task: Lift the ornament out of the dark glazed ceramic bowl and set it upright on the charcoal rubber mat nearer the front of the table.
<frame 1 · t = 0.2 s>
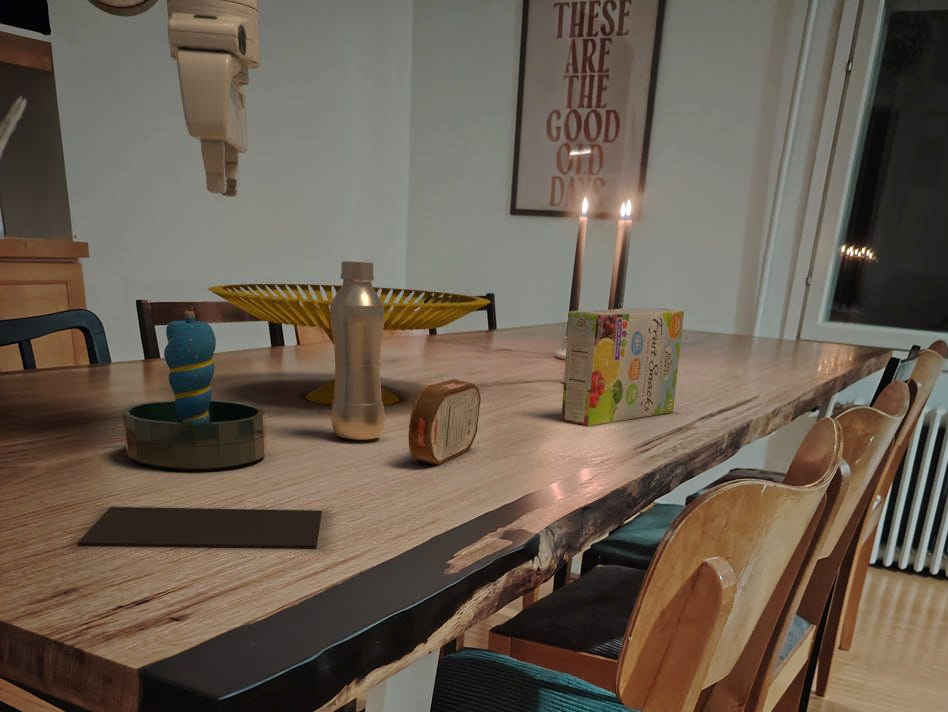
hand: (223, 194, 99), 26 cm above the table, tool pointing down, fingers open, 8 cm apart
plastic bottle: (358, 441, 112), on the table
tin: (445, 459, 106), on the table
bowl: (198, 458, 99), on the table
mat: (209, 529, 76), on the table
snack box: (618, 418, 137), on the table
ornament: (197, 454, 99), resting on bowl
cake stand: (352, 400, 140), on the table
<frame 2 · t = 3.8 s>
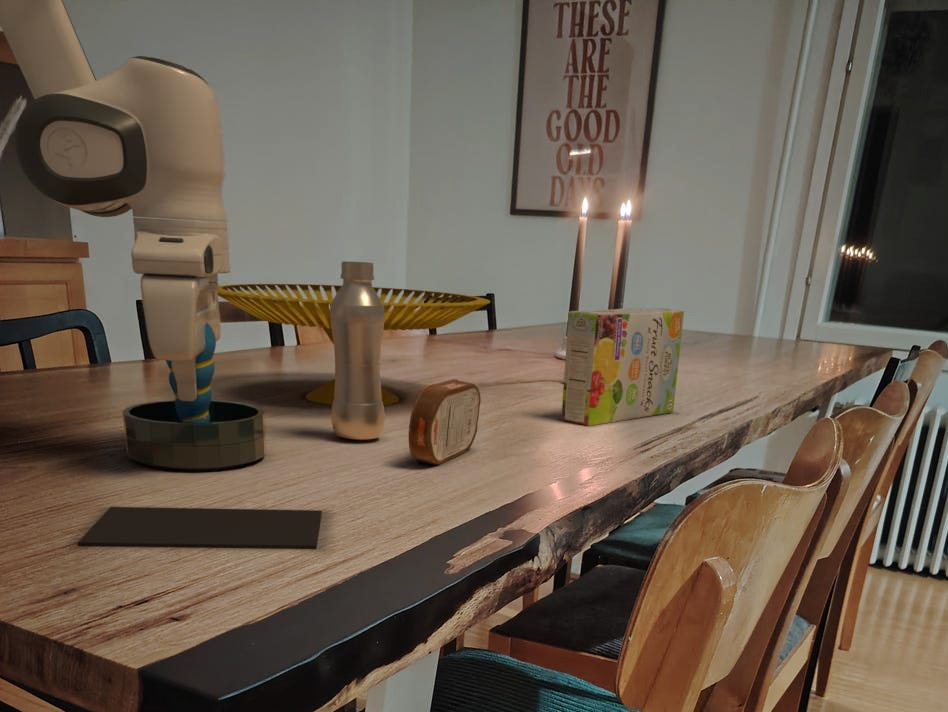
hand: (193, 395, 97), 7 cm above the table, tool pointing down, fingers closed on ornament, 4 cm apart
ornament: (197, 454, 99), resting on bowl, touching gripper
everything else where it was.
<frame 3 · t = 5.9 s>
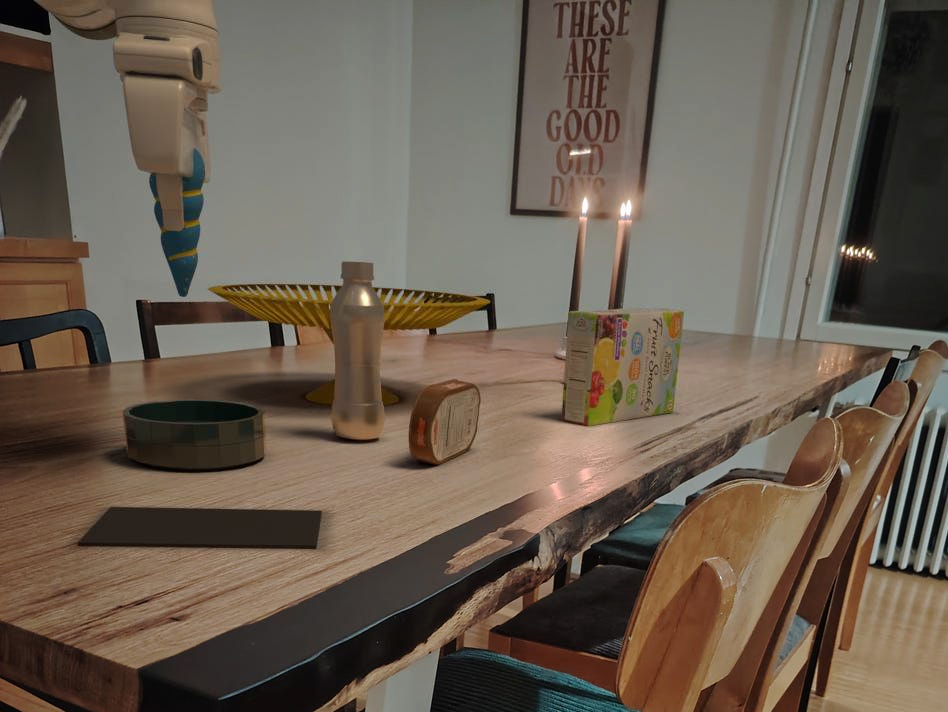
hand: (180, 231, 90), 22 cm above the table, tool pointing down, fingers closed on ornament, 4 cm apart
ornament: (185, 299, 92), point 16 cm above the table, touching gripper
everything else where it was.
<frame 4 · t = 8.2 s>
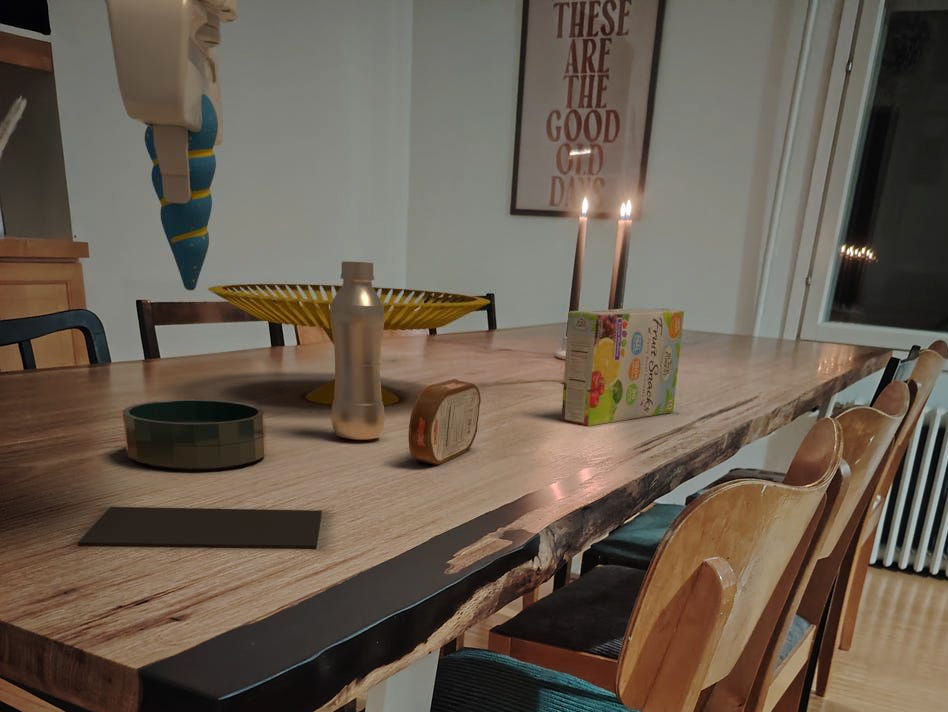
hand: (185, 204, 69), 24 cm above the table, tool pointing down, fingers closed on ornament, 4 cm apart
ornament: (192, 293, 71), point 18 cm above the table, touching gripper
everything else where it was.
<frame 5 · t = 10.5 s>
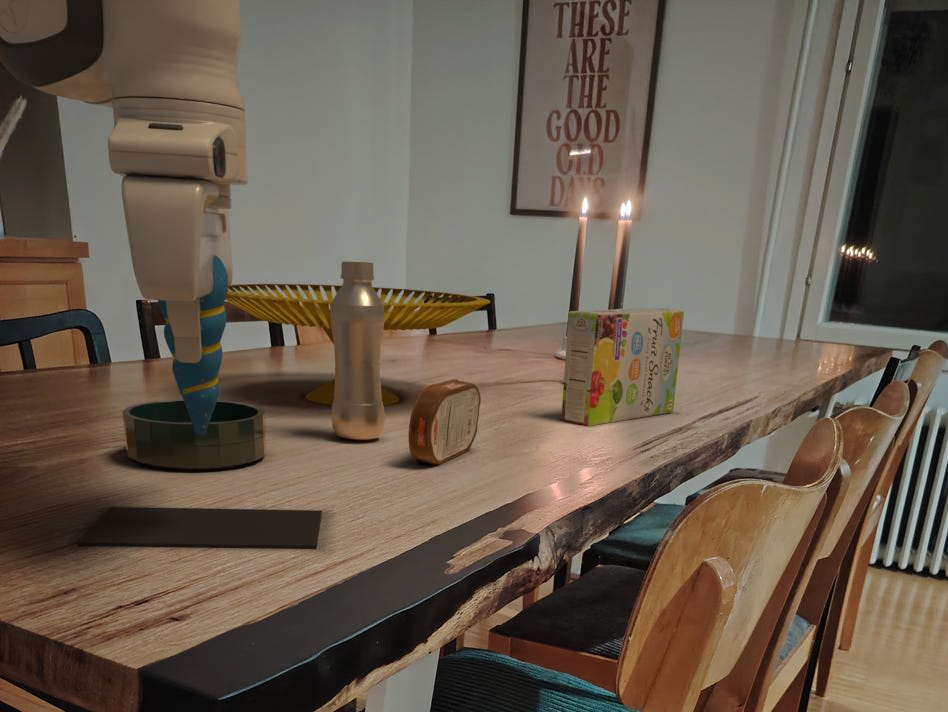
hand: (196, 356, 71), 14 cm above the table, tool pointing down, fingers closed on ornament, 4 cm apart
ornament: (203, 437, 73), point 8 cm above the table, touching gripper
everything else where it was.
when the fingers open (6 cm above the table, at t = 12.7 s): ornament stays where it is, resting on mat.
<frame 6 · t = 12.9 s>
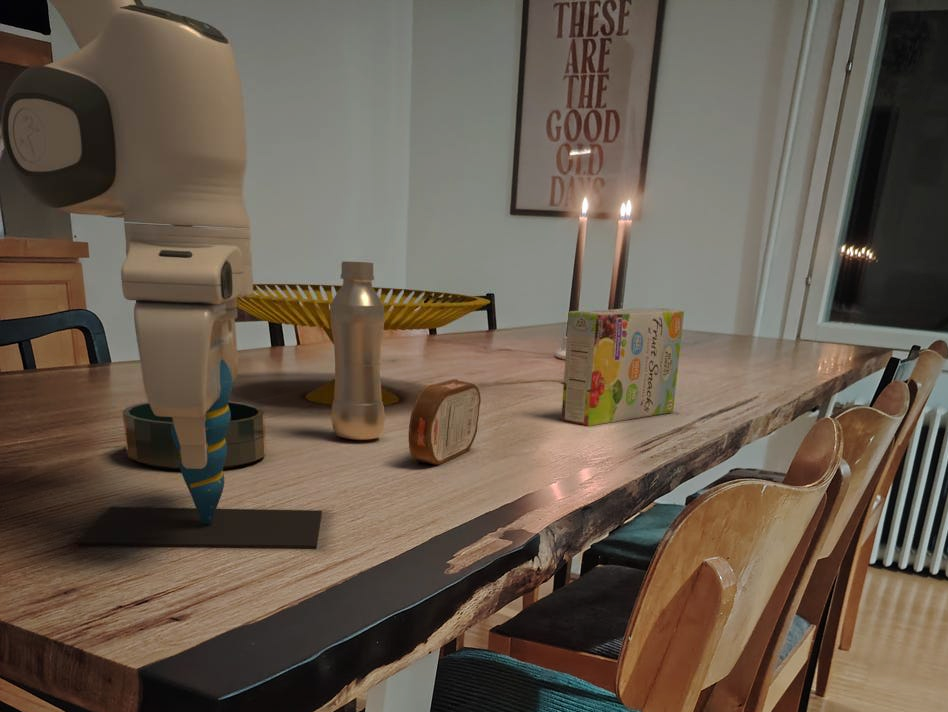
hand: (204, 455, 74), 6 cm above the table, tool pointing down, fingers open, 7 cm apart
ornament: (209, 526, 76), resting on mat
everything else where it was.
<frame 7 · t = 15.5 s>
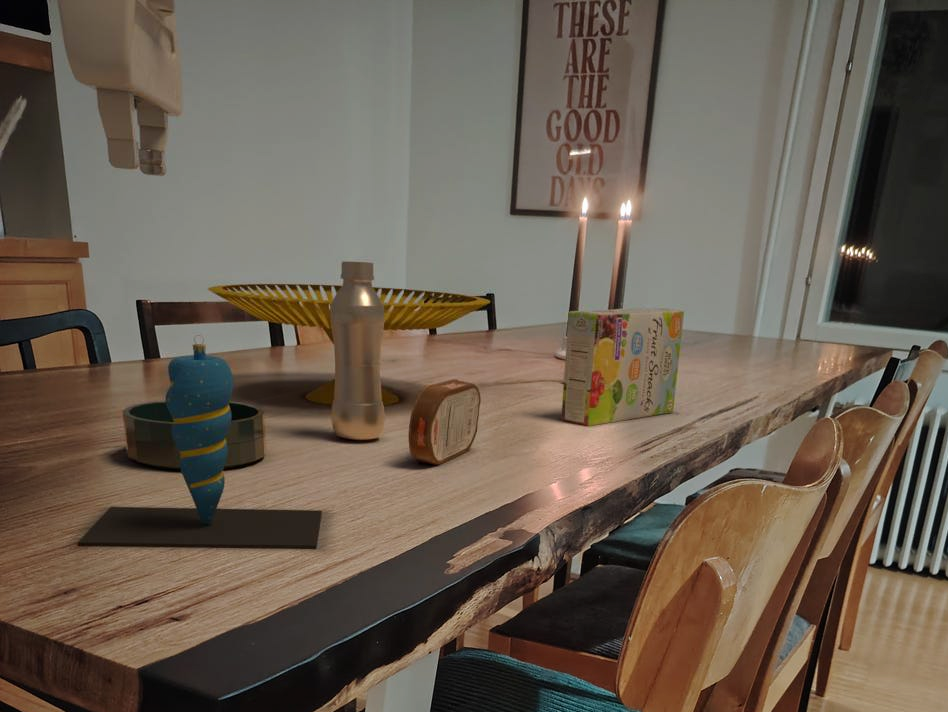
hand: (140, 172, 70), 26 cm above the table, tool pointing down, fingers open, 8 cm apart
nothing on the table moved.
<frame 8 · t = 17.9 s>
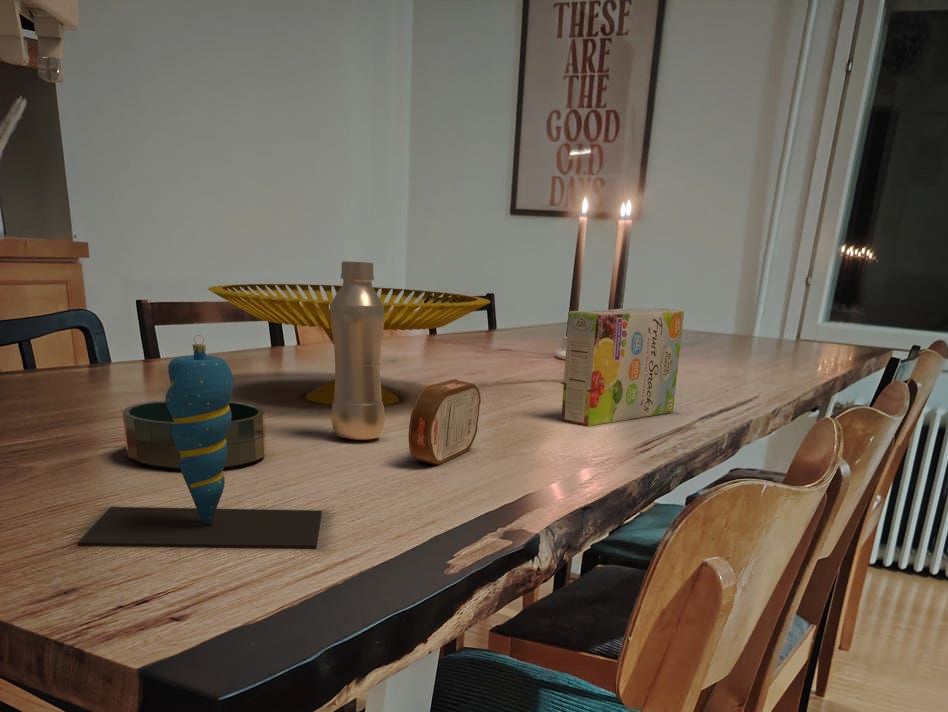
hand: (34, 73, 78), 34 cm above the table, tool pointing down, fingers open, 8 cm apart
nothing on the table moved.
at the end: ornament inside the target area on the mat (0.1 cm from its centre), point 0.2 cm above the mat's base; ornament tilted 0°; ornament touching mat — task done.
